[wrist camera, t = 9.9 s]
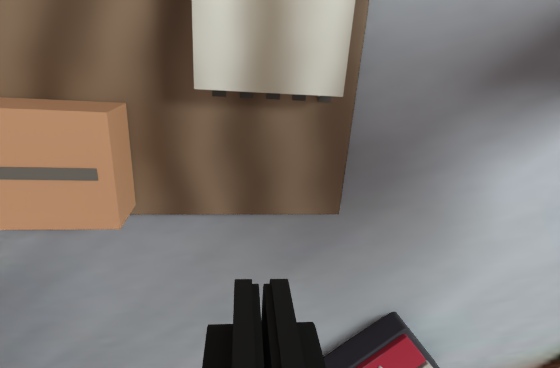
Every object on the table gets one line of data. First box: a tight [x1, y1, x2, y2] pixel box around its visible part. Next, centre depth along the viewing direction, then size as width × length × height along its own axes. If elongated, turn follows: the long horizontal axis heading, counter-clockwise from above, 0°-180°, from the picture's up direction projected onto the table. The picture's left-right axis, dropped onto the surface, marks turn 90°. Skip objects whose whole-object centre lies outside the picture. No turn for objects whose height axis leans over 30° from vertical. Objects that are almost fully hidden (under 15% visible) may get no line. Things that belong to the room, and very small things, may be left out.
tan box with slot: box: [0, 97, 136, 230], centre depth 23 cm, size 10×8×4 cm
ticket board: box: [0, 0, 369, 214], centre depth 24 cm, size 28×20×4 cm
